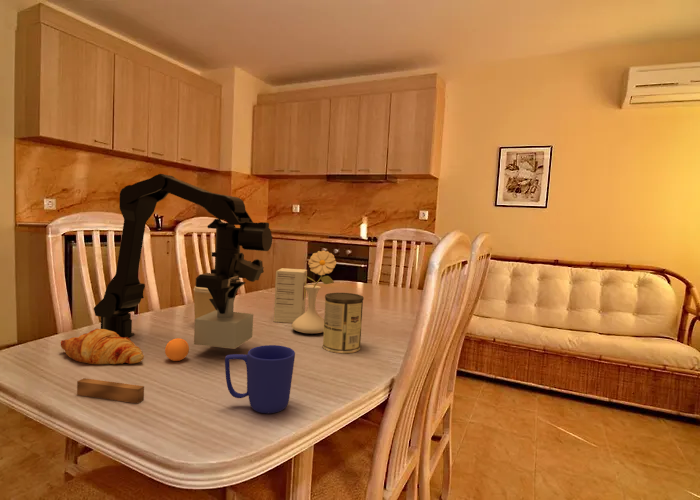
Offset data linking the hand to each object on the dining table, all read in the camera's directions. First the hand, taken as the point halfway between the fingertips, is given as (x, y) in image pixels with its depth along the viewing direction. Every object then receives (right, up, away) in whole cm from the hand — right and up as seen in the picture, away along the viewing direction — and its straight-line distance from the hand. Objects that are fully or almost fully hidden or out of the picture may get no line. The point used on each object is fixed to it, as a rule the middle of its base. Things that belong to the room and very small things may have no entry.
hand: (225, 312), depth 99 cm
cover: (0, -7, 0) cm, 7 cm away
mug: (+14, -13, -27) cm, 33 cm away
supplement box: (+10, -8, +37) cm, 40 cm away
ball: (-9, -7, -7) cm, 13 cm away
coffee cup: (-12, -8, +24) cm, 28 cm away
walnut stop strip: (-12, -11, -27) cm, 32 cm away
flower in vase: (+19, -10, +24) cm, 32 cm away
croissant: (-25, -10, -8) cm, 28 cm away
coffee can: (+28, -11, +10) cm, 32 cm away
